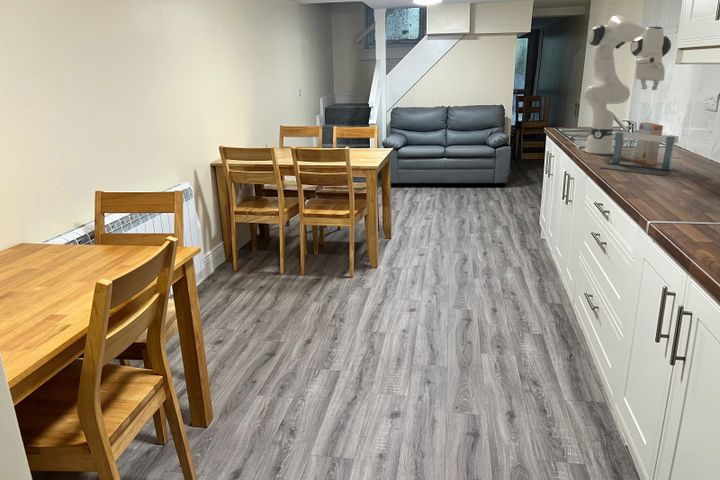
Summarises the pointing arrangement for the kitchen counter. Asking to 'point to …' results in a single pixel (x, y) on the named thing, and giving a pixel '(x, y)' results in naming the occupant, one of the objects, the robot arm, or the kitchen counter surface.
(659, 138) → the rail
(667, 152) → the rack
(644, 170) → the mat
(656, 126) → the cracker box
